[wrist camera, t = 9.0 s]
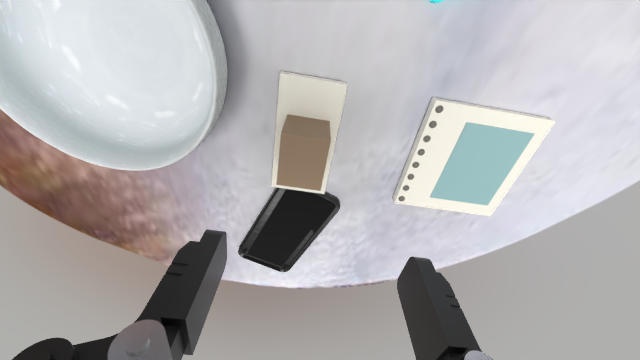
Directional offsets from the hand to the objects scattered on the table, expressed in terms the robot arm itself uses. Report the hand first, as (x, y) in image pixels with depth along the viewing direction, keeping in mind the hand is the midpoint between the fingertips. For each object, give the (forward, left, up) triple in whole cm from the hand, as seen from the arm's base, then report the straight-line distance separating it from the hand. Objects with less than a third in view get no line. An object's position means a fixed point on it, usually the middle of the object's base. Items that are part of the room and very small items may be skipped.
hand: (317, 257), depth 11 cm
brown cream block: (-1, -2, -17) cm, 17 cm away
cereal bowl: (-16, +4, -17) cm, 24 cm away
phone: (-2, -15, -18) cm, 23 cm away
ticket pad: (+16, -2, -17) cm, 24 cm away
